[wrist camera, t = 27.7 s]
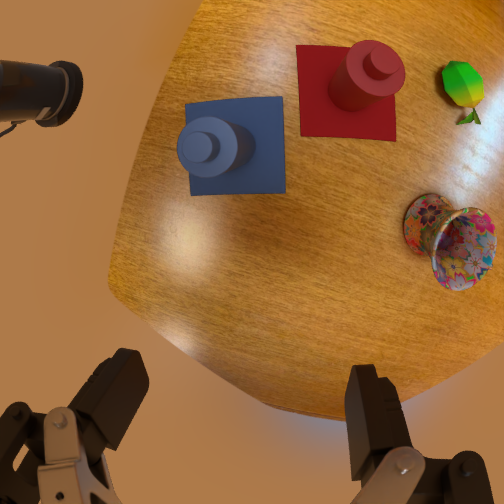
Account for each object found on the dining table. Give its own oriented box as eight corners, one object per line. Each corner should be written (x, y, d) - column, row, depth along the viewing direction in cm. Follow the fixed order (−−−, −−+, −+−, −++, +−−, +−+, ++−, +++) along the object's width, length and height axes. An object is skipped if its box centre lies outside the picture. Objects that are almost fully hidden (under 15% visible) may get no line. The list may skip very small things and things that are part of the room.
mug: (387, 239, 35) (417, 273, 25) (417, 177, 32) (458, 191, 22) (447, 271, 35) (482, 307, 26) (475, 217, 32) (518, 241, 22)
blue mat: (191, 195, 37) (190, 195, 36) (186, 104, 32) (185, 104, 32) (285, 192, 35) (285, 193, 34) (282, 96, 31) (282, 96, 30)
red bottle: (351, 120, 30) (392, 105, 17) (318, 91, 29) (337, 56, 16) (377, 92, 28) (428, 65, 15) (345, 64, 28) (377, 18, 14)
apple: (466, 53, 18) (499, 124, 21) (472, 53, 21) (501, 115, 23) (421, 70, 25) (453, 136, 27) (434, 68, 27) (461, 125, 29)
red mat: (300, 136, 32) (300, 136, 32) (295, 46, 28) (296, 44, 28) (395, 141, 31) (396, 141, 30) (389, 53, 26) (390, 52, 26)
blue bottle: (214, 168, 34) (167, 184, 21) (212, 126, 33) (162, 118, 19) (256, 166, 34) (233, 180, 20) (254, 124, 32) (230, 109, 18)
